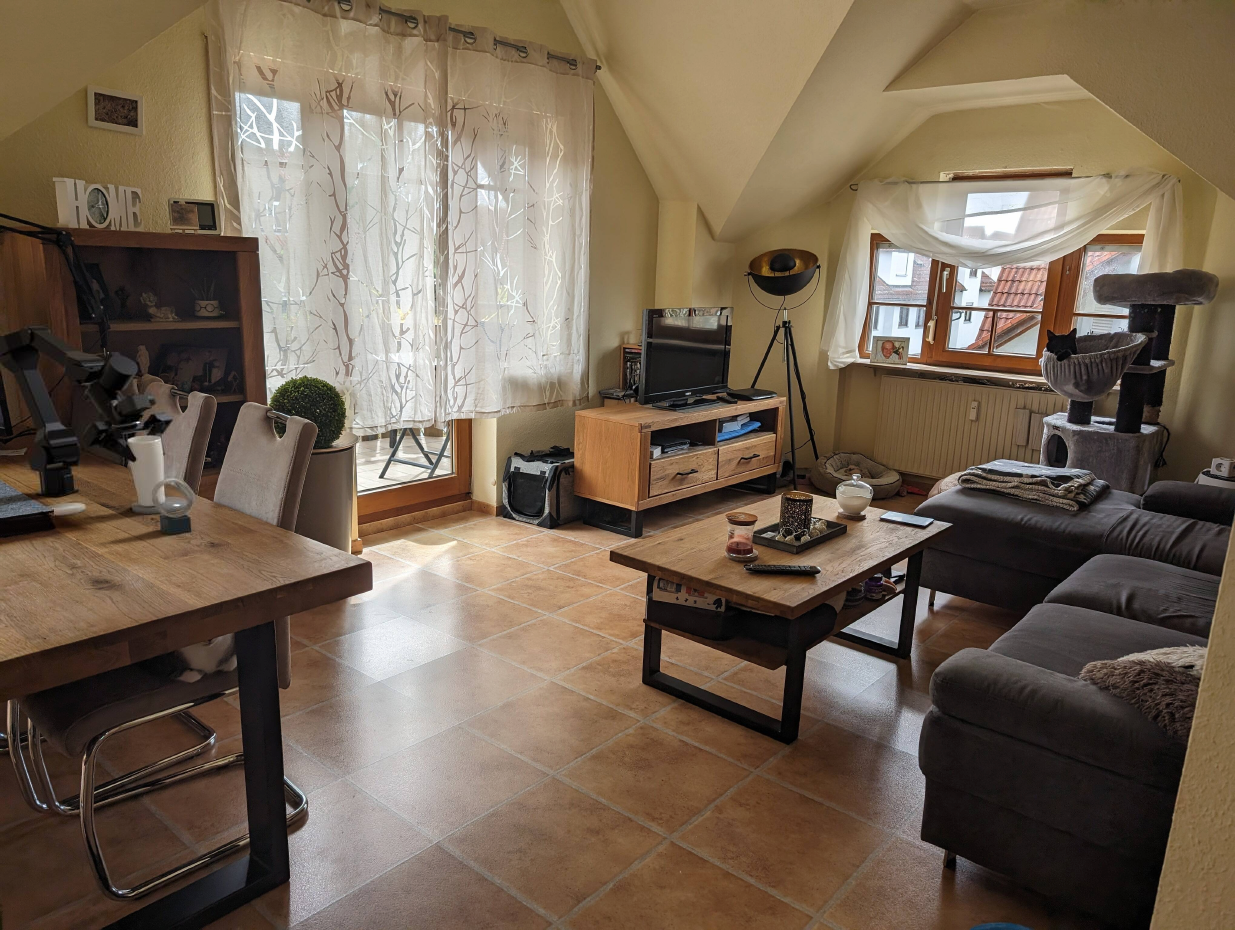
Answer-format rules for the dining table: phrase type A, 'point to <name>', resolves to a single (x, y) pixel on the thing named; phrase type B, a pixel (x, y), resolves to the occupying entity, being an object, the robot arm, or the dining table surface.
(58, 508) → the cream coaster
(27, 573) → the dining table surface
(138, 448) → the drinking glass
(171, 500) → the slate saucer
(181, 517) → the grey ring on block
